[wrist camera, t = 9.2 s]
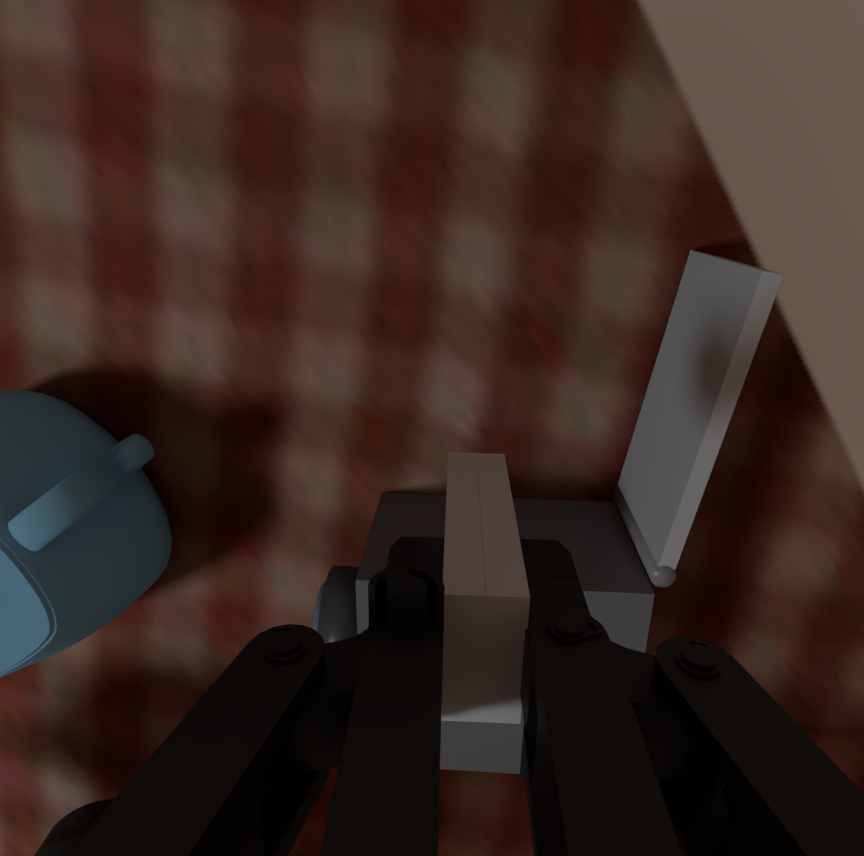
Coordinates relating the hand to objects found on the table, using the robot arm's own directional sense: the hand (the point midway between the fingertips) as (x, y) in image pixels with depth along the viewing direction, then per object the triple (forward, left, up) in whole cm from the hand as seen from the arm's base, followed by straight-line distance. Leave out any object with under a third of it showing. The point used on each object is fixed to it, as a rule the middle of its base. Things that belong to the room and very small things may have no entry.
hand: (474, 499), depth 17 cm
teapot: (-23, -9, -15) cm, 29 cm away
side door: (+9, -1, -14) cm, 17 cm away
